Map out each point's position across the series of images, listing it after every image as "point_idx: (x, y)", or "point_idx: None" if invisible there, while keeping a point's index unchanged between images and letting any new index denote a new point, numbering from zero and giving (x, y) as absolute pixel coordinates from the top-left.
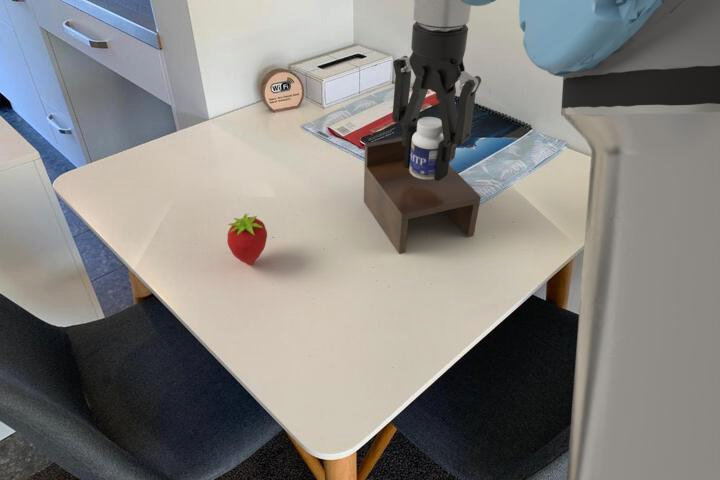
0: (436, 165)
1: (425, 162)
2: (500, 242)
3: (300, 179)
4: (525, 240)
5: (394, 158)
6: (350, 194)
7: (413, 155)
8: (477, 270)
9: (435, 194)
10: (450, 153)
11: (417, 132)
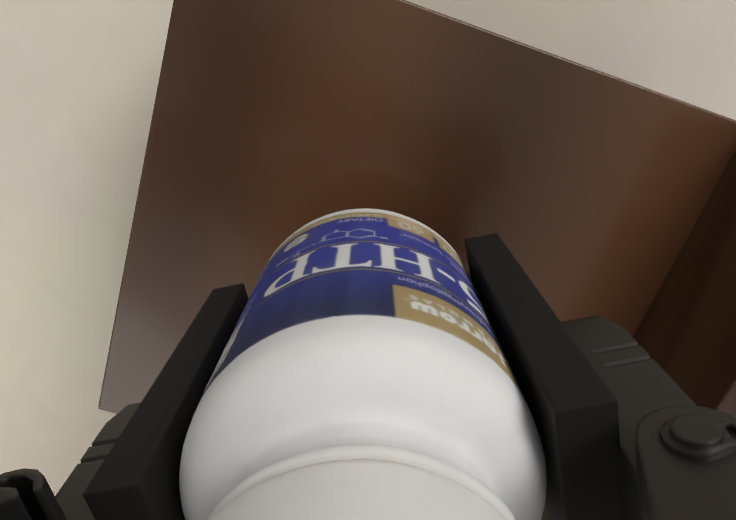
0: (214, 337)
1: (268, 285)
2: (97, 344)
3: None
4: (64, 412)
5: (665, 310)
6: (732, 97)
7: (394, 266)
8: (6, 163)
9: (244, 249)
10: (72, 472)
11: (491, 472)
